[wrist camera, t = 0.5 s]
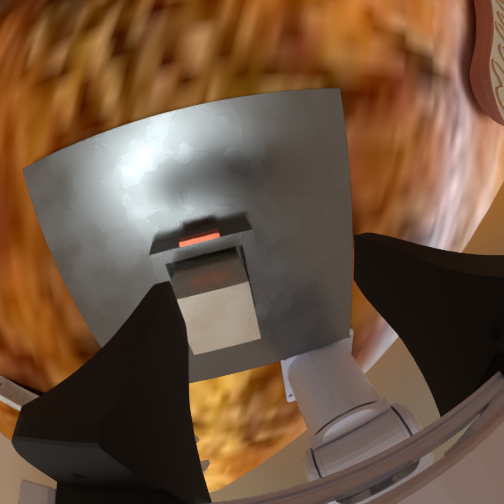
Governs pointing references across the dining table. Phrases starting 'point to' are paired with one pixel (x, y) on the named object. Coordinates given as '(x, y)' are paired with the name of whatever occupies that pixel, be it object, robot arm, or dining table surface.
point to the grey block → (215, 300)
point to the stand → (210, 216)
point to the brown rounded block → (489, 58)
